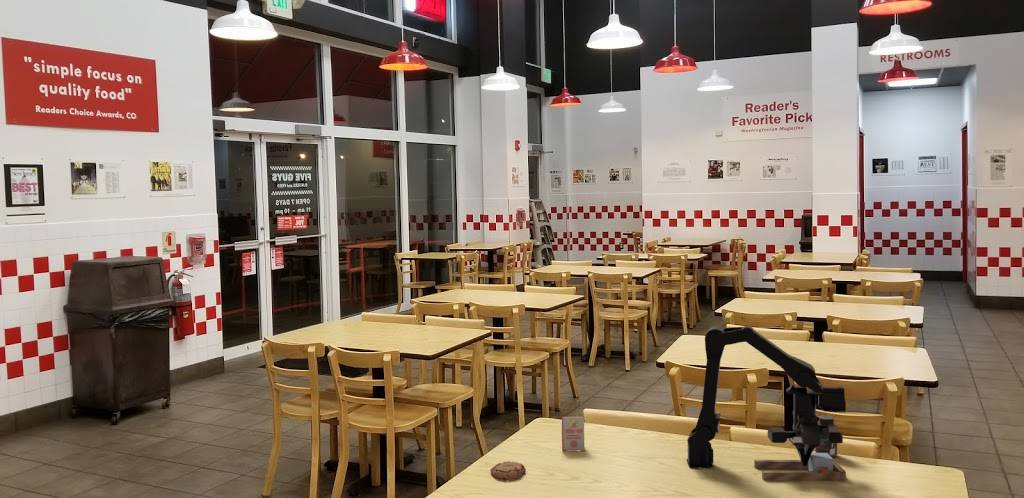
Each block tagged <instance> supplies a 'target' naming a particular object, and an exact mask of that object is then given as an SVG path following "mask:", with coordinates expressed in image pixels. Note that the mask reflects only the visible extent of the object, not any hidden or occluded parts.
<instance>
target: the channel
mask: <svg viewBox="0 0 1024 498" xmlns="http://www.w3.org/2000/svg"><path fill="white" fill-rule="evenodd" d="M753 467H754V469H780V470H762V471H761V479H762V481H812V482H813V481H815V482H817V481H818V482H819V481H821V482H822V481H825V482H826V481H828V482H829V481H832V482H833V481H836V482H837V481H838V482H845V481H847V471H846V470H845V469H844V468H843V467H842V466H841V465H840V464H839V463H838V462H837V461H836V459H834V458H833V471H828V468H827V467H819V471H809V461H808V464H807V466H806V467H804V466H803V465H802V462H801V459H753ZM781 469H783V470H781ZM784 469H786V470H784ZM787 469H796V470H787ZM797 469H799V471H798V470H797ZM800 469H801V470H800ZM803 469H805V470H803ZM806 470H807V471H806Z"/></svg>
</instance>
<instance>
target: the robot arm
mask: <svg viewBox="0 0 1024 498" xmlns="http://www.w3.org/2000/svg"><path fill="white" fill-rule="evenodd" d="M739 343H747V344H748V345H749V346H751V347H753V348H754V349H756V350H757V351H758V352H760V353H761V354H762V355H763V356H765V357H766V358H768V359H769V360H770V361H771V362H773V363H775V364H776V365H778V367H780V368H781V369H782V370H783V371H784V372H785V373H786V374H787V375H788V377H789V378H790V379H791V380H792V381H793V382H794V383H791V384H790V386H789V387H787V388H786V394H787V395H793V410H792V416H793V425H792V430H793V431H791V430H790V431H786V430H785V429H784V428H783V427H769V428H768V429H767V438H768V440H769V441H770V442H771V443H773V444H774V443H775V444H785V443H786V442H787V441H789V442H790V443H791V444H792V445H793V446H795V449H796V451H797V453H798V456H799V460H801V462H802V465H803V466H804V467H806V466H807V464H808V461H809V459H810V456H811V454H812V453H814V451H815V448H816V447H817V446H820V445H821V440H822V439H828V440H829V441H830V442H831V443H837V444H843V442H844V437H843V436H844V435H843V433H841V431H839V430H838V428H837V429H836V428H829V427H828V425H818V423H819V421H818V416H817V399H818V408H820V409H821V410H822V411H823V412H827V413H829V412H830V413H831V412H832V413H846V407H847V405H846V403H847V402H846V395H845V387H844V386H823V384H822V381H820V379H819V378H818V377H817V374H816V369H815V368H814V366H813V365H812V364H811V363H809V362H807V361H805V360H802V359H800V358H799V357H796V356H792V355H791V354H789V353H788V352H786V351H785V350H783V349H781V348H780V347H779V346H777V344H775V343H773V342H772V341H771V340H769V339H768V338H766V337H765V336H763V335H762V334H761V333H759V332H758V331H756V330H755V328H753V327H752V326H750V325H744V326H735V327H733V326H732V327H725V328H724V327H722V326H719V325H714V326H712V327H710V328H709V329H708V330H707V332H706V333H705V336H704V348H705V356H706V366H705V374H704V383H703V391H702V393H703V394H702V404H701V408H700V411H699V415H698V418H697V422H696V425H695V427H694V428H693V429H691V431H690V433H689V435H688V438H687V440H686V441H687V459H686V462H687V465H688V467H689V468H691V469H692V468H693V469H694V468H695V469H696V468H697V469H698V468H701V469H704V468H706V469H711V468H714V466H713V464H714V449H713V447H712V443H711V441H712V440H714V439H715V437H716V435H717V434H719V433H720V428H721V425H720V420H721V417H722V413H721V412H720V413H719V412H718V413H717V408H716V407H717V397H718V388H719V386H718V385H719V378H720V371H721V370H720V369H721V360H722V357H723V353H724V351H725V347H726V346H729V345H735V344H739ZM795 384H796V385H795ZM817 396H818V398H817Z"/></svg>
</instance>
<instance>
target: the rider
mask: <svg viewBox="0 0 1024 498" xmlns="http://www.w3.org/2000/svg"><path fill="white" fill-rule="evenodd" d="M833 459H834V457H833V458H832V457H831V456H830V455H829V454H828V453H816V452H812V454H811V456H810V459H809V469H808V471H819V467H827V468H828V471H833Z"/></svg>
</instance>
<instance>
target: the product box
mask: <svg viewBox="0 0 1024 498" xmlns="http://www.w3.org/2000/svg"><path fill="white" fill-rule="evenodd" d="M562 450H584V451H585V417H584V416H561V451H562Z"/></svg>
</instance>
